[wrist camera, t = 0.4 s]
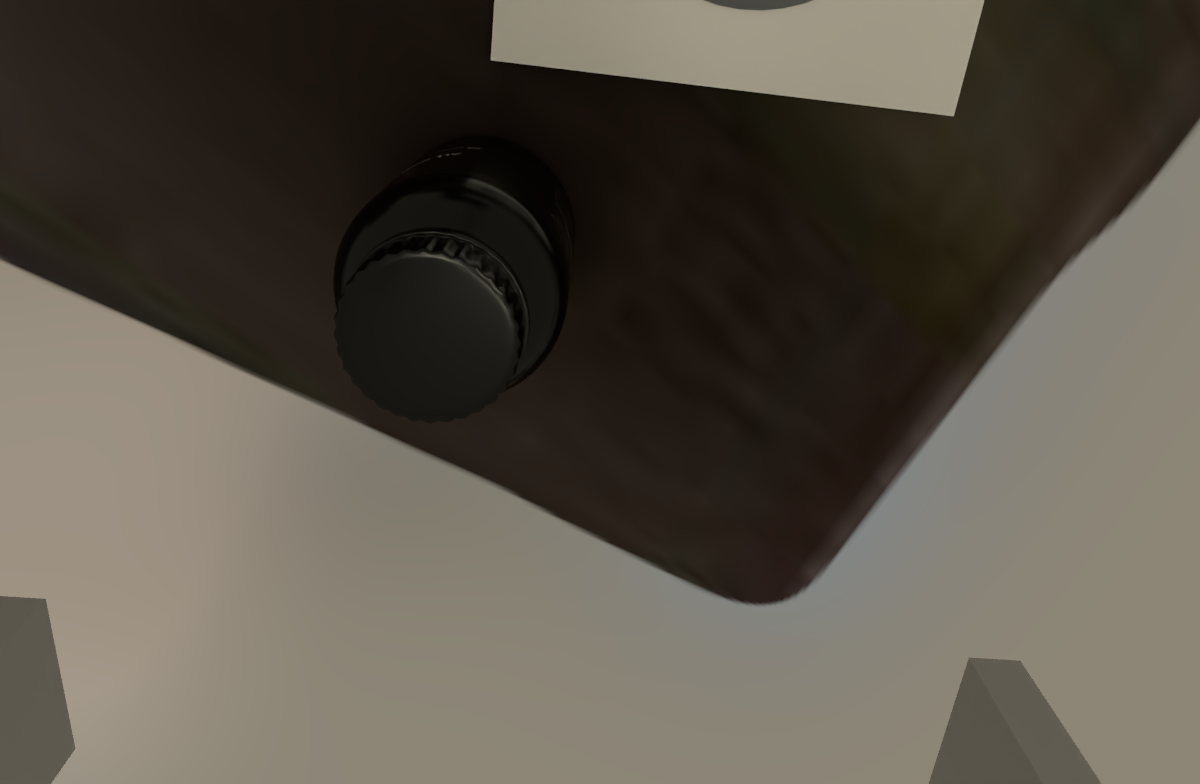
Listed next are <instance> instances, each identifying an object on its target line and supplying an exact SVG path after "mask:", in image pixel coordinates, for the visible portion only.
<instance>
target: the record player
mask: <svg viewBox="0 0 1200 784" xmlns="http://www.w3.org/2000/svg"><path fill="white" fill-rule="evenodd" d="M983 4H984V0H494V14H493V31H492V47H491V60H492V61H500V62H509V63H517V64H525V65H533V66H542V67H550V68H558V69H567V70H575V71H583V72H591V73H600V74H608V75H616V76H625V77H633V78H641V79H649V80H658V81H666V82H674V83H683V84H691V85H699V86H707V87H716V88H724V89H732V90H741V91H749V92H757V93H765V94H774V95H782V96H790V97H799V98H807V99H815V100H823V101H832V102H840V103H848V104H856V105H865V106H873V107H881V108H890V109H898V110H906V111H914V112H923V113H931V114H939V115H948V116H954V113H955V110H956V106H957V102H958V98H959V94H960V91H961V87H962V83H963V79H964V75H965V72H966V68H967V64H968V60H969V57H970V53H971V49H972V45H973V41H974V38H975V34H976V30H977V26H978V22H979V19H980V15H981V11H982V7H983Z"/></svg>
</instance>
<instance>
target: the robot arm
mask: <svg viewBox="0 0 1200 784" xmlns="http://www.w3.org/2000/svg"><path fill="white" fill-rule="evenodd" d="M74 750H75V745H74V740H73V735H72V730H71V724H70V720H69V714H68V710H67V704H66V700H65V694H64V689H63V684H62V679H61V674H60V669H59V664H58V660H57V654H56V649H55V644H54V639H53V634H52V629H51V624H50V619H49V614H48V609H47V604H46V599H36V598H20V597H4V596H0V784H51V783H52V781H53V780H54V778H55V777H56V775H57V774H58V773H59V771H60V770H61V768H62V767H63V765H64V764H65V763H66V761H67V760H68V758H69V757H70V755H71V754H72V752H73V751H74ZM929 784H1101V782H1100V781H1099V779H1098V778H1097V776H1096V775H1095V773H1094V772H1093V770H1092V769H1091V767H1090V766H1089V764H1088V763H1087V761H1086V760H1085V758H1084V757H1083V755H1082V754H1081V752H1080V751H1079V749H1078V748H1077V746H1076V745H1075V743H1074V742H1073V740H1072V739H1071V737H1070V736H1069V734H1068V733H1067V731H1066V730H1065V728H1064V726H1063V725H1062V723H1061V722H1060V720H1059V719H1058V717H1057V716H1056V714H1055V713H1054V711H1053V710H1052V708H1051V707H1050V705H1049V704H1048V702H1047V701H1046V699H1045V698H1044V696H1043V695H1042V693H1041V692H1040V690H1039V689H1038V687H1037V686H1036V684H1035V682H1034V681H1033V679H1032V678H1031V676H1030V675H1029V673H1028V672H1027V670H1026V669H1025V668H1024V666H1023V664H1022V663H1021V661H1014V660H997V659H982V658H969V660H968V662H967V666H966V669H965V672H964V675H963V678H962V681H961V684H960V688H959V691H958V694H957V697H956V700H955V703H954V706H953V709H952V712H951V716H950V719H949V722H948V725H947V728H946V732H945V735H944V738H943V741H942V744H941V747H940V750H939V753H938V757H937V760H936V763H935V766H934V769H933V772H932V775H931V779H930V782H929Z"/></svg>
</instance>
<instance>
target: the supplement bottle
mask: <svg viewBox="0 0 1200 784" xmlns="http://www.w3.org/2000/svg"><path fill="white" fill-rule="evenodd" d="M574 243H575V225H574V217H573V213H572V208H571V205H570V202H569V199H568V197H567V194H566V192H565V190H564V188H563V186H562V185H561V183H560V181H559V180H558V178H557V177H556V176H555V174H554V173H553V172H552V171H551V169H550V168H549V167H548V166H547V165H546V164H545V163H544V162H543V161H541V160H540V159H539V158H538V157H537V156H535V155H534V154H532V153H531V152H529V151H528V150H526V149H524V148H522V147H520V146H518V145H516V144H513V143H511V142H508V141H505V140H501V139H496V138H490V137H467V138H461V139H456V140H453V141H450V142H447V143H444V144H442V145H440V146H437V147H436V148H434V149H432V150H430V151H429V152H427V153H426V154H425V155H423V156H422V157H421V158H419V159H418V160H417V161H415V162H414V163H413V164H412V165H411V166H410V167H409V168H407V169H406V170H405V171H404V172H403V173H402V174H400V175H399V176H398V177H397V178H396V179H395V180H394V181H392V182H391V183H390V184H389V185H388V186H387V187H386V188H384V189H383V190H382V191H381V192H380V193H379V194H377V195H376V196H375V197H374V198H373V199H372V200H371V201H370V202H369V203H368V204H366V205H365V207H364V208H363V209H362V210H361V211H360V212H359V213H358V215H357V216H356V217H355V219H354V220H353V221H352V223H351V224H350V226H349V227H348V229H347V231H346V233H345V235H344V236H343V239H342V241H341V244H340V246H339V249H338V253H337V256H336V261H335V267H334V278H333V286H334V297H335V304H336V308H337V313H336V314H335V316H334V320H335V324H336V329H335V332H334V337H335V340H336V342H337V344H338V346H337V353H338V355H339V356H340V357H341V359H342V360H343V369H344V370H345V371H346V372H347V373H348V374H349V375H350V376H351V379H352V382H353V384H354V385H356V386H357V387H359V388H360V389H361V390H362V392H363V394H364V395H365V397H367V398H369V399H372V400H374V401H375V402H376V404H377V405H378V406H379V407H380V408H383V409H388V410H390V411H391V412H392V413H393V414H394V415H396V416H405V417H407V418H408V419H410V420H412V421H418V420H423V421H425V422H428V423H434V422H436V421H443V422H450V421H452V420H453V419H455V418H458V419H462V418H466V417H467V416H469V415H470V414H471V413H476V412H480V411H481V410H482V409H483V408H484V407H485V405H488V404H491V403H493V402H495V401H496V399H497V397H498V394H500V393H502V392H504V391H506V390H508V389H510V388H512V387H514V386H516V385H517V384H519V383H520V382H522V381H523V380H525V379H526V378H527V377H528V376H530V375H531V374H532V373H533V372H534V371H535V370H536V369H537V368H538V367H539V366H540V365H541V364H542V363H543V361H544V360H545V359H546V358H547V356H548V355H549V353H550V352H551V350H552V349H553V347H554V345H555V343H556V341H557V339H558V337H559V334H560V332H561V329H562V326H563V322H564V319H565V315H566V310H567V304H568V296H569V287H570V279H571V271H572V262H573V254H574Z"/></svg>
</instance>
